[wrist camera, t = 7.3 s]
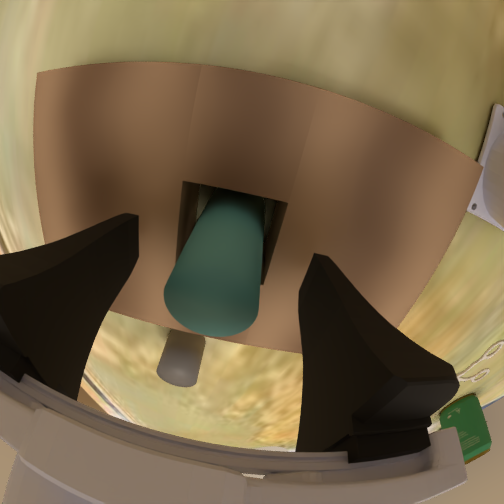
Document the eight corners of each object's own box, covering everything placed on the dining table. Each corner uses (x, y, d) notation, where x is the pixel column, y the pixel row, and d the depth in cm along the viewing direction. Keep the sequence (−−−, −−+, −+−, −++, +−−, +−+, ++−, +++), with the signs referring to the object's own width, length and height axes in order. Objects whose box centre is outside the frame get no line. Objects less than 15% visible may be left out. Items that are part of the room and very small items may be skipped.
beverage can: (443, 418, 34) (455, 469, 24) (433, 412, 32) (446, 471, 22) (478, 397, 31) (494, 448, 21) (473, 388, 28) (492, 447, 18)
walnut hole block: (443, 147, 12) (483, 167, 9) (360, 319, 20) (371, 360, 16) (81, 70, 11) (37, 72, 8) (84, 259, 19) (57, 292, 15)
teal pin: (277, 205, 15) (279, 305, 9) (240, 241, 17) (219, 347, 10) (233, 169, 14) (197, 245, 8) (198, 209, 16) (148, 302, 9)
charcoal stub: (207, 331, 22) (197, 371, 18) (204, 353, 23) (195, 390, 20) (169, 322, 21) (155, 360, 18) (169, 344, 23) (157, 380, 20)
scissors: (493, 372, 26) (381, 419, 30) (491, 369, 26) (380, 415, 31) (515, 331, 21) (384, 389, 25) (512, 326, 21) (382, 383, 26)
